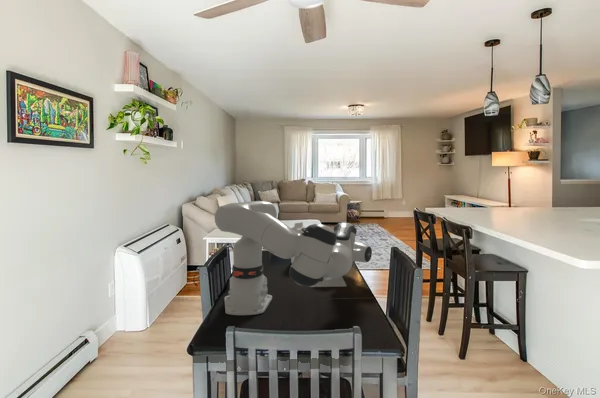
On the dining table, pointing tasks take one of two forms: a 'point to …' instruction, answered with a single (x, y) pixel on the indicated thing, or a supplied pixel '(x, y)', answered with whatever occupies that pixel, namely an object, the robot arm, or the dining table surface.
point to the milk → (297, 229)
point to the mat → (331, 282)
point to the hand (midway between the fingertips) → (322, 243)
